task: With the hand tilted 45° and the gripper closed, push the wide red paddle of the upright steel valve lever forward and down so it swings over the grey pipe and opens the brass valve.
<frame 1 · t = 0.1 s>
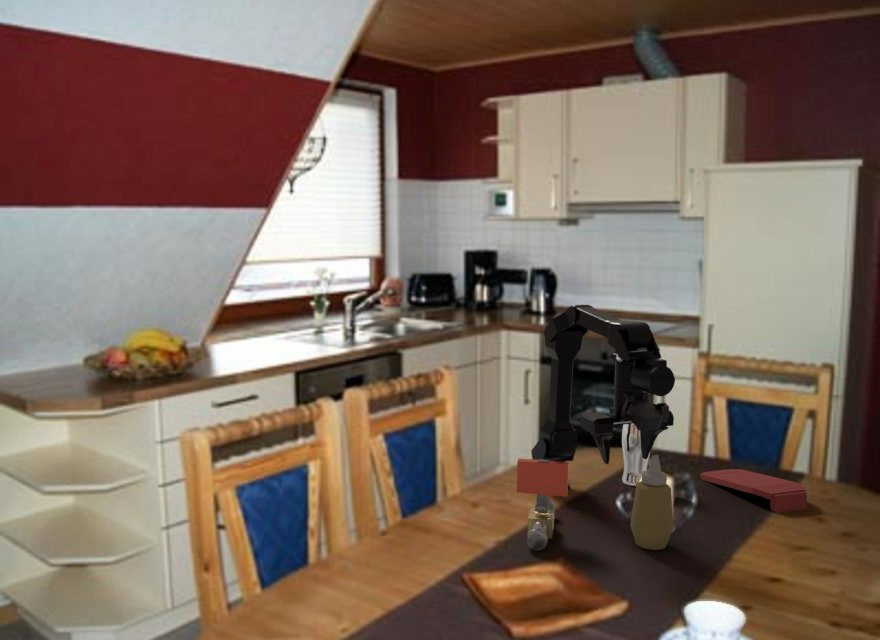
hand: (625, 461, 160), 15 cm above the table, tool pointing down, fingers open, 9 cm apart
valve lever: (542, 486, 160), point 10 cm above the table, hinge at 0.0°
squeeze bottle: (650, 545, 155), on the table
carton: (752, 494, 186), on the table
beer glass: (634, 482, 191), on the table
valve: (540, 532, 161), on the table
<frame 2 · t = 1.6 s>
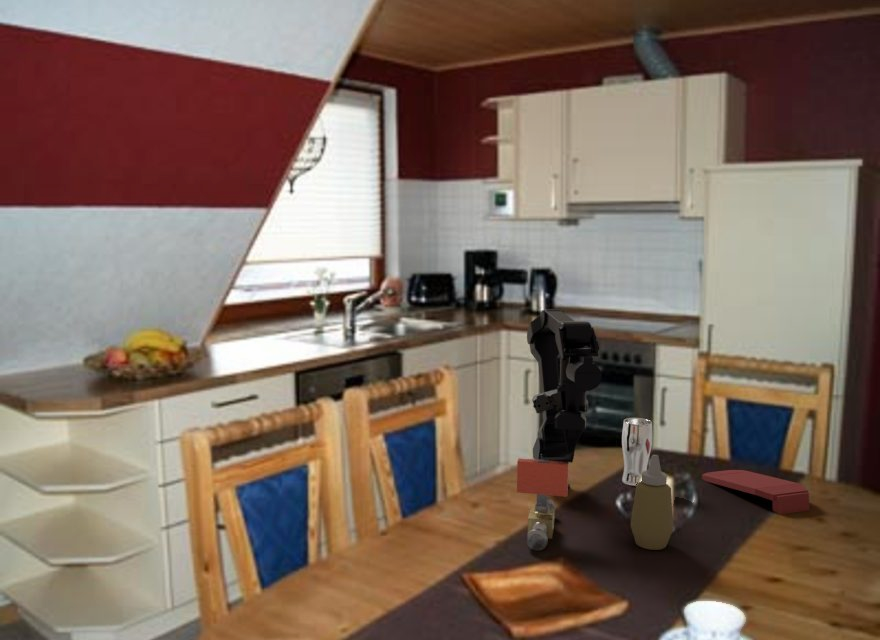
hand: (570, 450, 172), 13 cm above the table, tool pointing down, fingers closed
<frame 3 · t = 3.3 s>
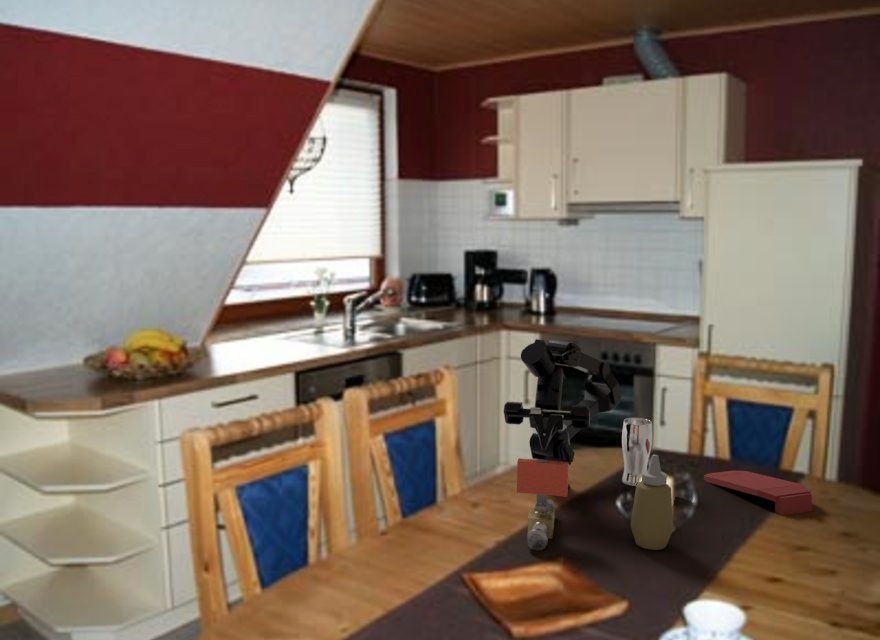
hand: (543, 449, 172), 13 cm above the table, tool tilted 45°, fingers closed
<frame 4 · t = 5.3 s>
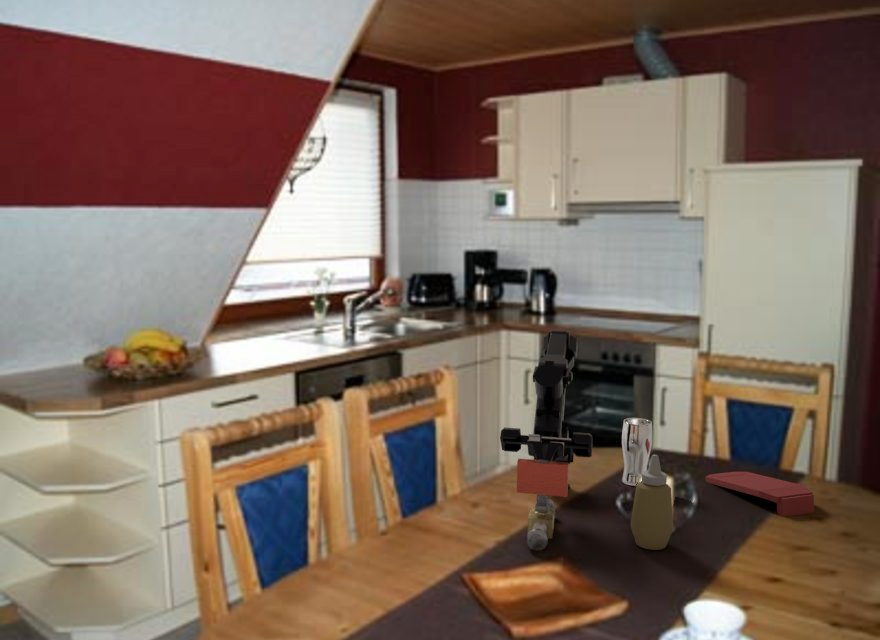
hand: (542, 479, 160), 11 cm above the table, tool tilted 45°, fingers closed, pressing on valve lever
valve lever: (542, 486, 159), point 10 cm above the table, hinge at 1.3°, touching gripper
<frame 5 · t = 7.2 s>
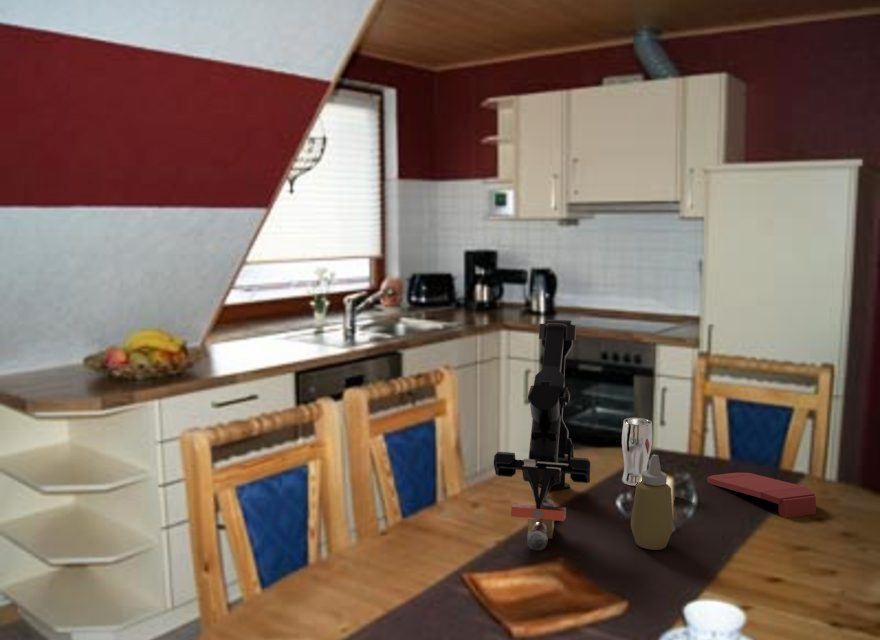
hand: (538, 507, 152), 8 cm above the table, tool tilted 45°, fingers closed, pressing on valve lever
valve lever: (539, 510, 156), point 6 cm above the table, hinge at 75.1°, touching gripper
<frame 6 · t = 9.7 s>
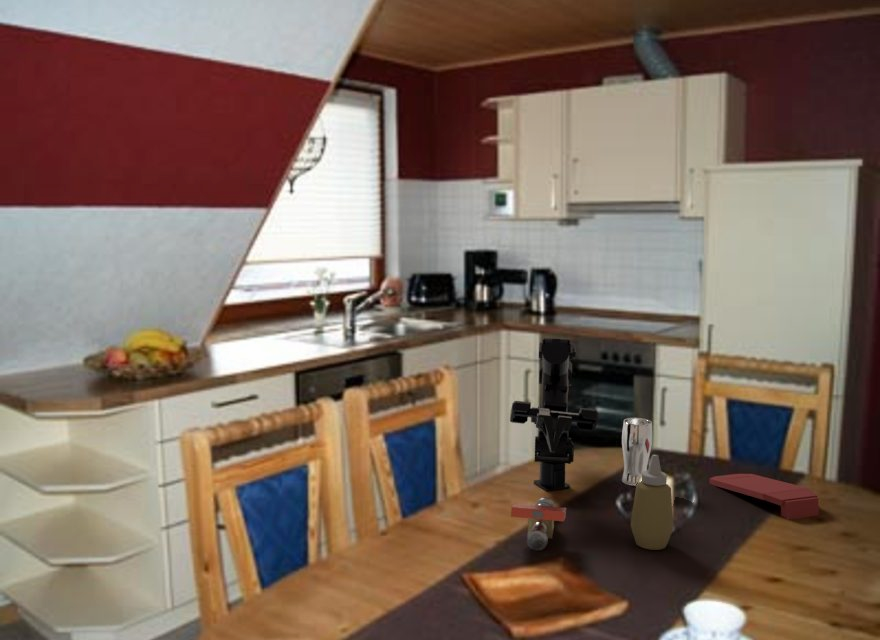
hand: (552, 451, 169), 14 cm above the table, tool tilted 40°, fingers closed
valve lever: (539, 511, 156), point 6 cm above the table, hinge at 75.5°
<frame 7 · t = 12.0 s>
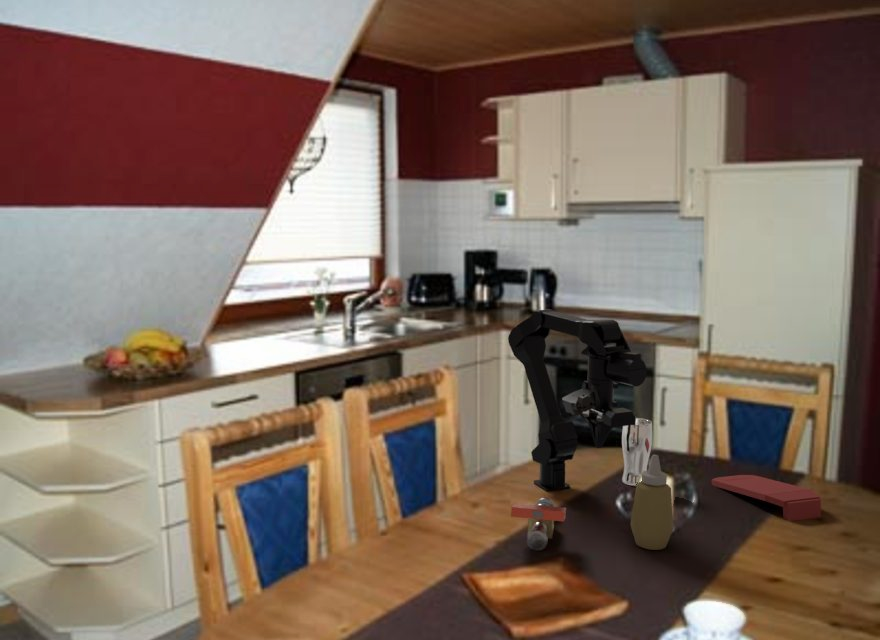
hand: (598, 447, 174), 13 cm above the table, tool pointing down, fingers closed
at the end: valve lever at +76° (first picture: +0°); squeeze bottle moved 0.2 cm from its start; beer glass moved 0.2 cm from its start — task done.
